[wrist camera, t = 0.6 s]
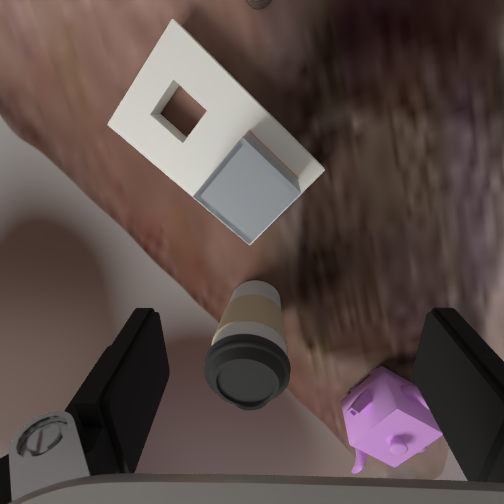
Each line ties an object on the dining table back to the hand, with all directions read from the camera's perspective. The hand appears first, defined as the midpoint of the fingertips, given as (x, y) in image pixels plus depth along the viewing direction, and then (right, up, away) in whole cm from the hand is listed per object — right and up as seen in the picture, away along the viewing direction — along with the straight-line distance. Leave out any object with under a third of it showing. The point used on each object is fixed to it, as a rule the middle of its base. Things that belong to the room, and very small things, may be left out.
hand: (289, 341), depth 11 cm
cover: (-1, +11, +23) cm, 25 cm away
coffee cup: (-1, -4, +33) cm, 34 cm away
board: (-5, +15, +25) cm, 29 cm away
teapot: (+18, -18, +38) cm, 46 cm away
